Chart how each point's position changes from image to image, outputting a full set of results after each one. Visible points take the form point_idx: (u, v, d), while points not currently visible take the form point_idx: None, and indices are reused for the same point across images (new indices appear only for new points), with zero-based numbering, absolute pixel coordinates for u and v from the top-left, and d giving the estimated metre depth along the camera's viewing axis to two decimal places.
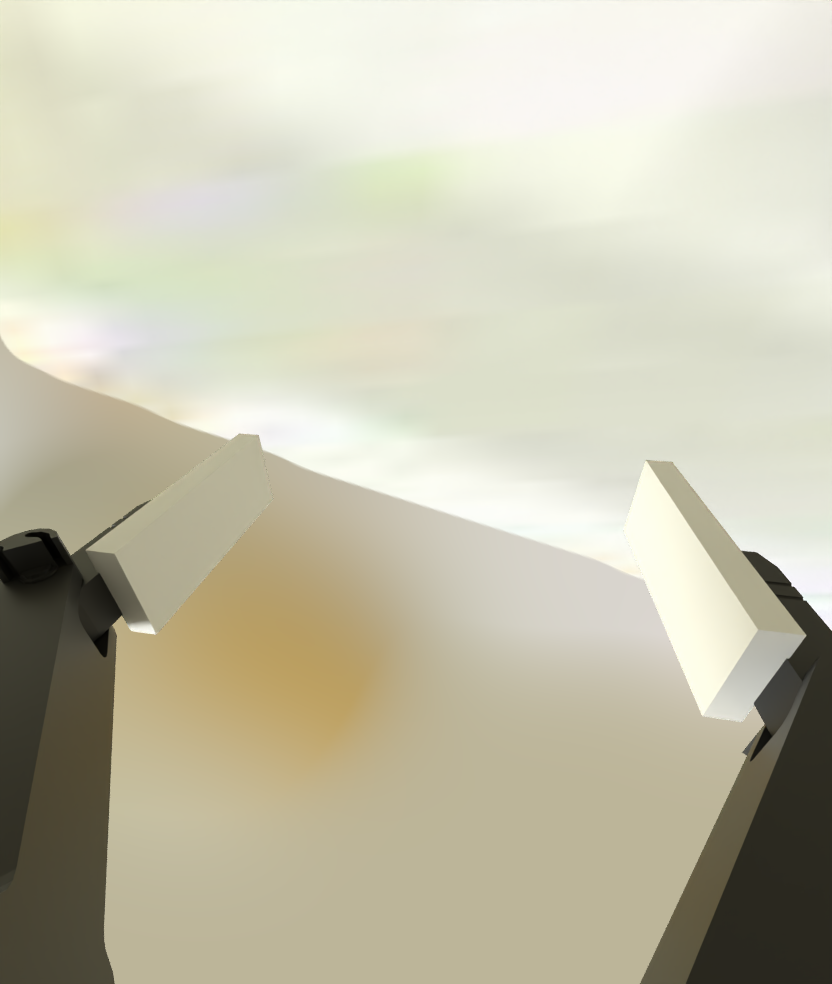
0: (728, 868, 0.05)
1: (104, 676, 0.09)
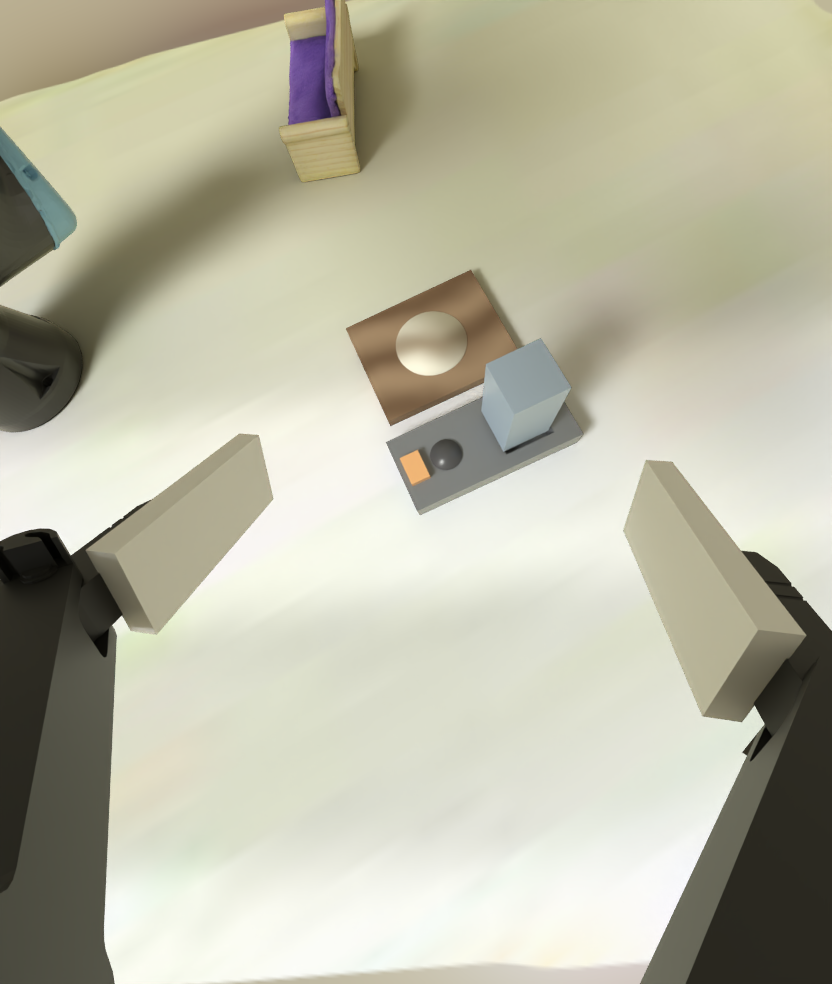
0: (728, 868, 0.05)
1: (104, 676, 0.09)
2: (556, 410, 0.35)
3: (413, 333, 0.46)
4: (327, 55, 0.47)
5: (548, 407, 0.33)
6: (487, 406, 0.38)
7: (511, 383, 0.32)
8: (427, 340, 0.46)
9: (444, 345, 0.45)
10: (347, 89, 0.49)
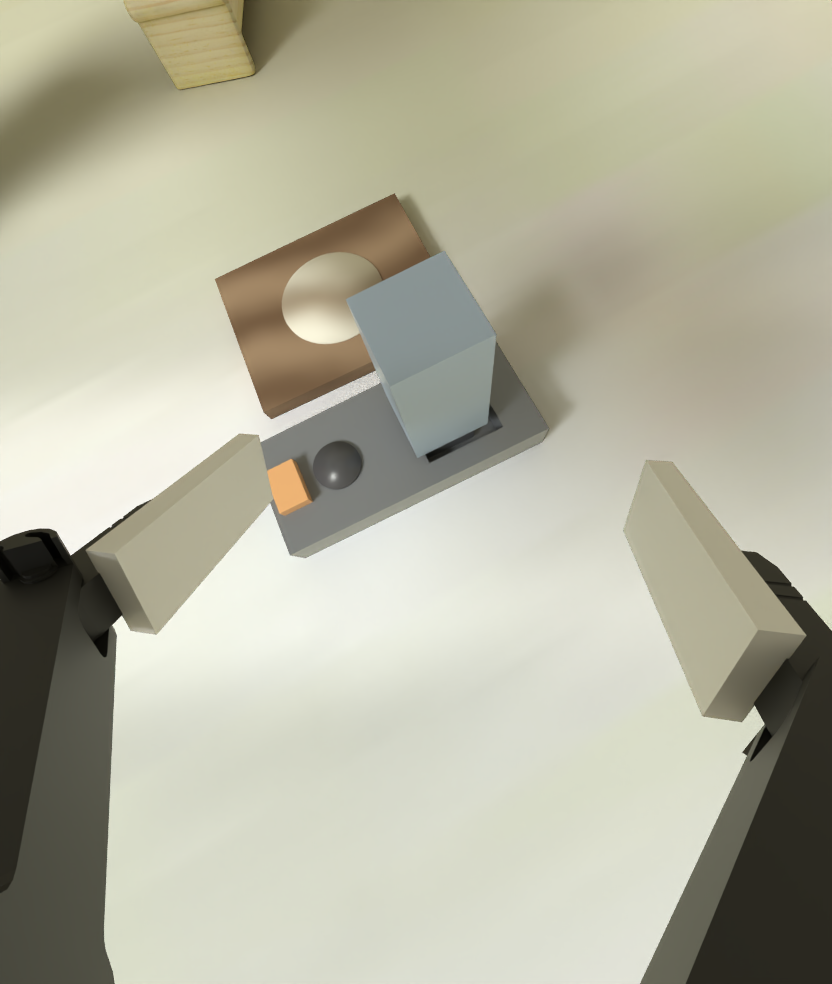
0: (728, 868, 0.05)
1: (104, 676, 0.09)
2: (485, 385, 0.20)
3: (308, 283, 0.32)
4: None
5: (465, 376, 0.19)
6: (383, 384, 0.23)
7: (388, 330, 0.17)
8: (327, 293, 0.31)
9: None
10: None
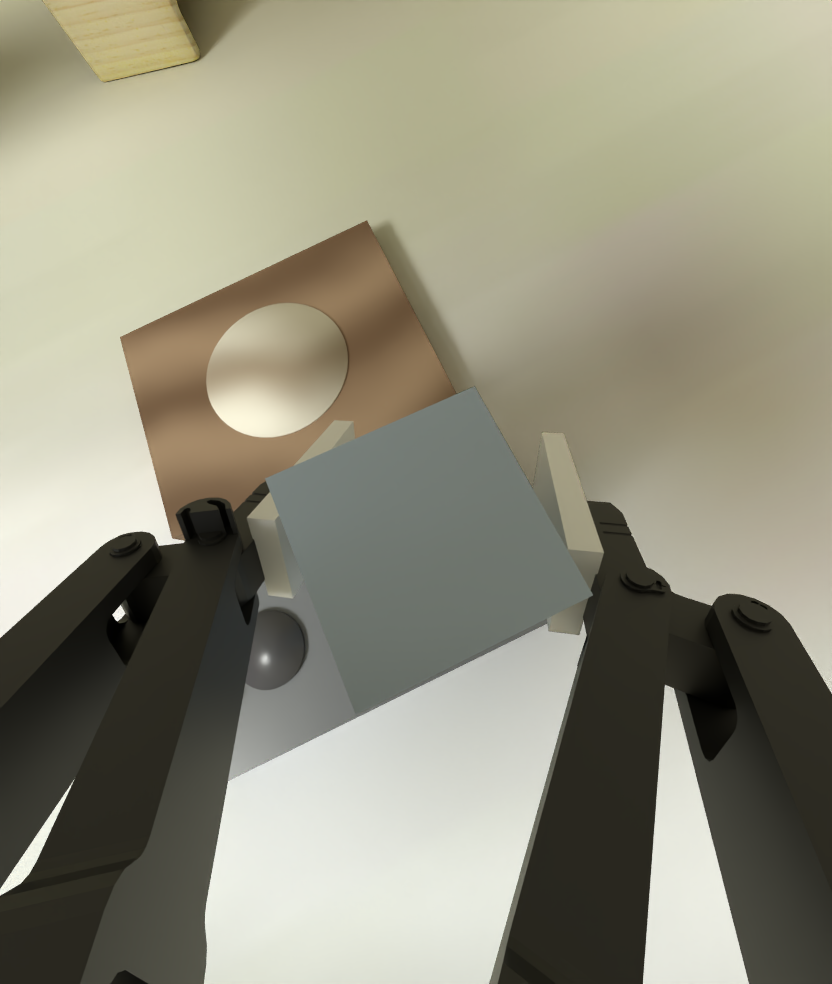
0: (555, 762, 0.06)
1: (244, 643, 0.09)
2: None
3: (245, 346, 0.23)
4: None
5: None
6: None
7: (355, 565, 0.08)
8: (269, 362, 0.22)
9: (301, 373, 0.22)
10: None
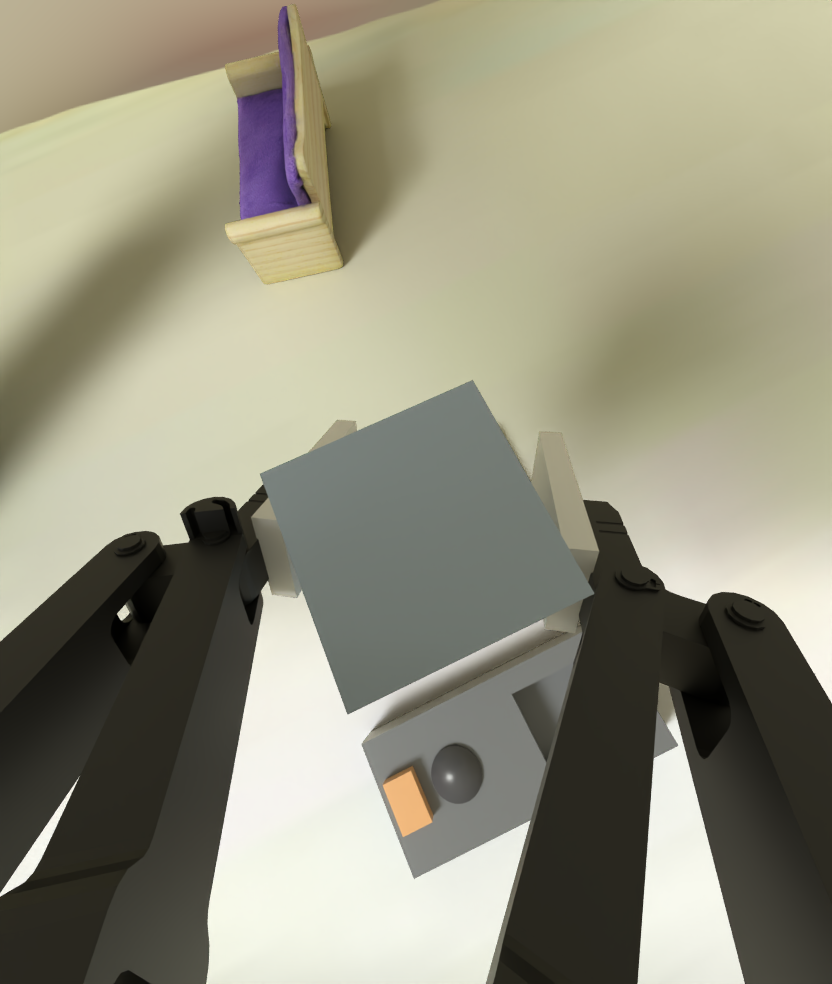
0: (550, 759, 0.06)
1: (248, 643, 0.09)
2: None
3: None
4: (285, 122, 0.32)
5: None
6: None
7: (349, 560, 0.08)
8: None
9: None
10: (318, 164, 0.35)
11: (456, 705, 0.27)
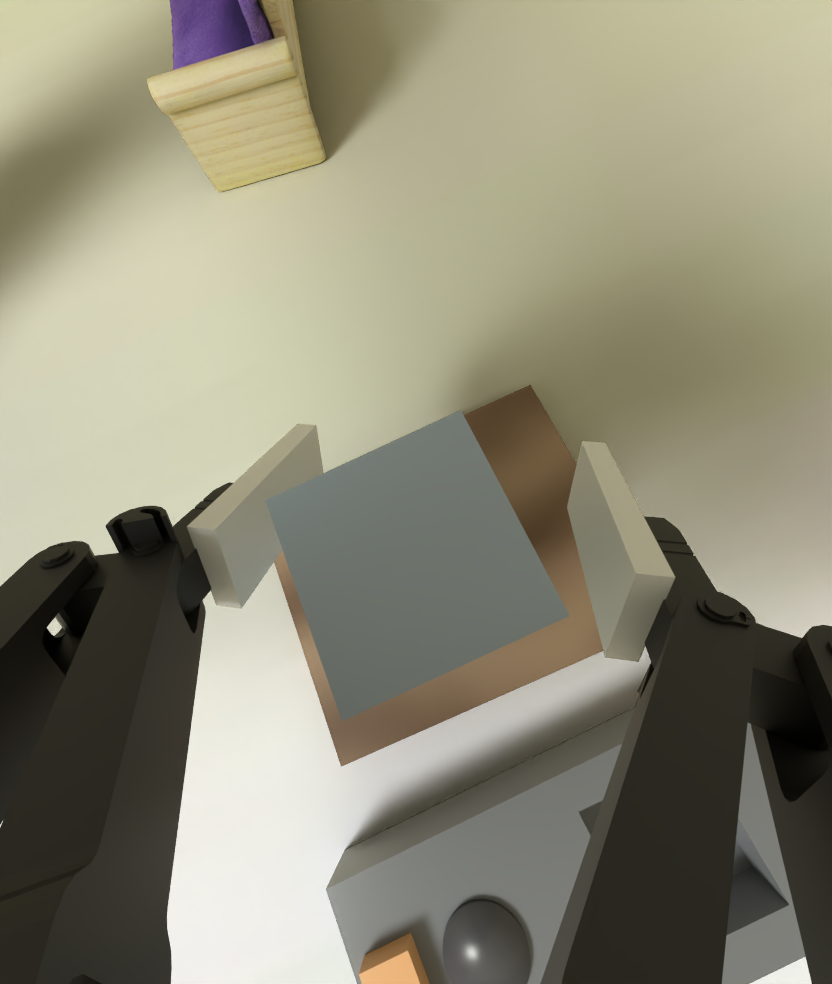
0: (617, 793, 0.05)
1: (191, 652, 0.09)
2: None
3: None
4: None
5: None
6: None
7: (344, 582, 0.08)
8: None
9: None
10: None
11: (485, 828, 0.16)
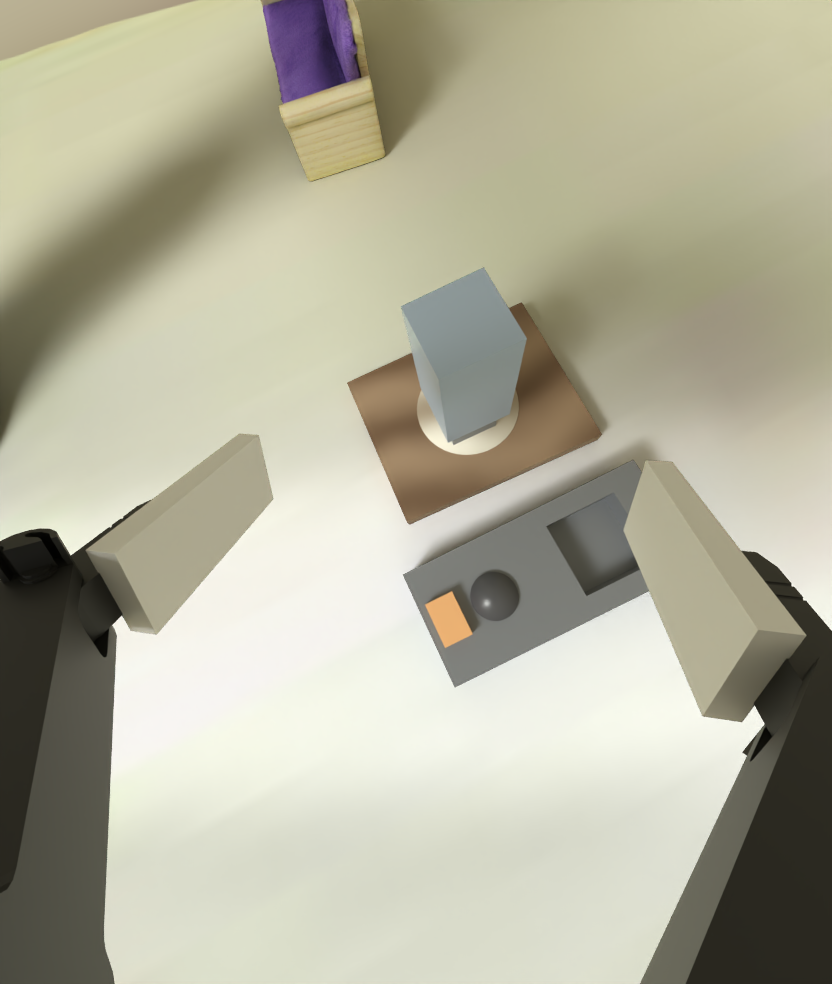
0: (728, 868, 0.05)
1: (104, 676, 0.09)
2: (512, 380, 0.24)
3: None
4: None
5: (497, 372, 0.22)
6: (421, 378, 0.27)
7: (437, 333, 0.21)
8: None
9: None
10: None
11: (493, 537, 0.28)
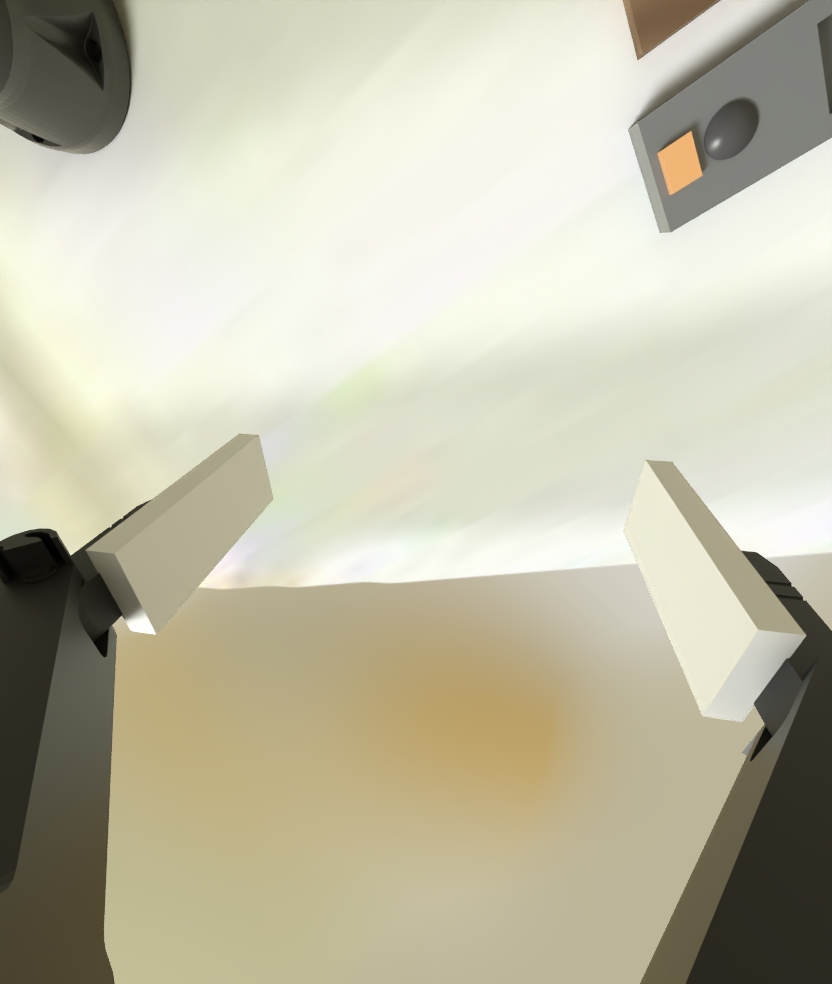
0: (727, 867, 0.05)
1: (104, 676, 0.09)
2: None
3: None
4: None
5: None
6: None
7: None
8: None
9: None
10: None
11: (748, 53, 0.27)
